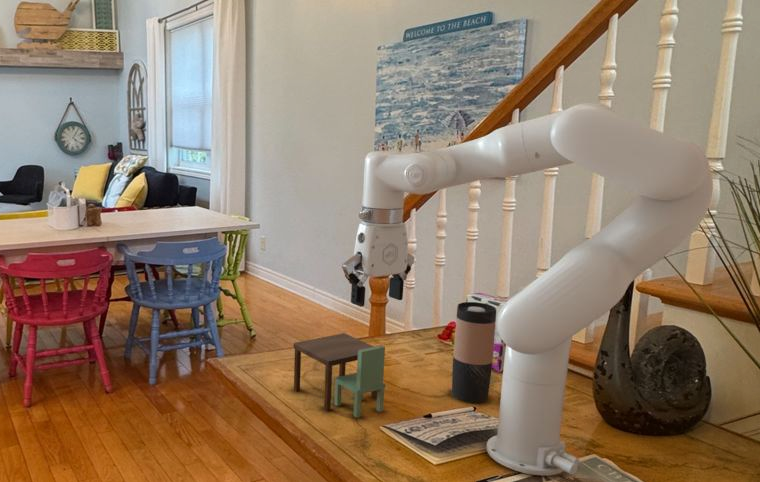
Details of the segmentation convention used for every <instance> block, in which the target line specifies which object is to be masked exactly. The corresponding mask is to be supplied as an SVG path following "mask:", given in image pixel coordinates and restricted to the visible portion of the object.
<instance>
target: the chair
mask: <svg viewBox="0 0 760 482" xmlns="http://www.w3.org/2000/svg"><path fill="white" fill-rule="evenodd" d="M385 354H386V347H385V346H383V345H381V344H380V345H376V346H374V347H371V348H366V349H362V350H358V360H357V361H356V362H357V365H356V368H357V369H356V372H353V373H350V374H349V373H348V374H345V376H340V377H339V376H336V377H334V399H333V400H334V401H333V404H334V406H336V407H340V406H342V388H344V389H346V390H348V391H349V392H351V393H353V394H354V396H353V397H354V398H353V399H354V400H353V417H354V418H356V419H359V418H361V413H362V411H361V410H362V401H364V394H369V393H371V392H372V391H376V390H377V398H376V408H375V410H376V411H377V412H379V413H381V412H384V406H385V405H384V404H385V403H384V402H385V389H386V383H385V382H384V378H385V377H384V376H385V375H384V373H385V359H386V358H385V356H386V355H385Z"/></svg>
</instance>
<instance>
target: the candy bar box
mask: <svg viewBox="0 0 760 482" xmlns="http://www.w3.org/2000/svg"><path fill="white" fill-rule="evenodd" d="M508 300H509V299H504V298H501V297H497V296H493V295H489V294H486V293H482V292H476V293H470V294H467V295H466V300H465V302H477V303H484V304H488V305H491V306H493V307H495V308H496V323H495V336H494V349H493V361H492V371H495V372H498V373H503V369H504V358H505V350H506V344H505V343H504V342H503V340H502V339H501V337H500V335H499V333H498V330H497V317H498V314H499V311H500V309H501V308H502V306H503V305H504V304H505V303H506V302H507V301H508Z"/></svg>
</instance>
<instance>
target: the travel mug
mask: <svg viewBox="0 0 760 482" xmlns="http://www.w3.org/2000/svg"><path fill="white" fill-rule="evenodd" d="M495 323H496V308H495V307H493V306H491V305H488V304H484V303H477V302H466V301H464V302H460V303H458V304H457V309H456V318H455V330H454V331H455V332H454V340H453V341H454V342H453V354H452V373H451V374H452V375H451V376H452V377H451V395H452V396H453V397H454V398H455V399H457V400H459V401H462V402H465V403H470V404H481V403H482V404H483V403H485V402H487V401H488V399H489V392H490V384H491V379H492V378H491V377H492V371H493V369H492V361H493V349H494V336H495Z"/></svg>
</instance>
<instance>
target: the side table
mask: <svg viewBox="0 0 760 482" xmlns="http://www.w3.org/2000/svg"><path fill="white" fill-rule="evenodd" d="M371 347H375V346H374V345H371V344H370V343H367V342H365V341H363V340H360V339H358V338H356V337H354V336H352V335H349V334H347V333H346V332H345V333H344V332H342V333H337V334H332V335H327V336H323V337H316V338H312V339H308V340H307V339H306V340H301V341H297V342H294V343H293V349H294V366H293V367H294V368H293V374H294V375H293V391H294V392H296V393H297V392H300V391H301V370H302V369H301V365H302V363H301V362H302V354H304V355H305V356H307V357H309V358H312V359H313V360H315V361H317V362H318V363H321V364H323V365H324V366H325V368H324V369H325V370H324V397H323V398H324V399H323V401H324V402H323V409H324V411H326V412H328V411H331V410H332V388H333V386H332V385H333V366H338V365H339V366H338V367H339V370H338V377H340V376H345V375H346V364H347V363H351V362H358V350H362V349H366V348H371ZM370 398H372V399H373V400H375V399H376V400H377V390H376V391H372V392H370Z"/></svg>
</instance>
